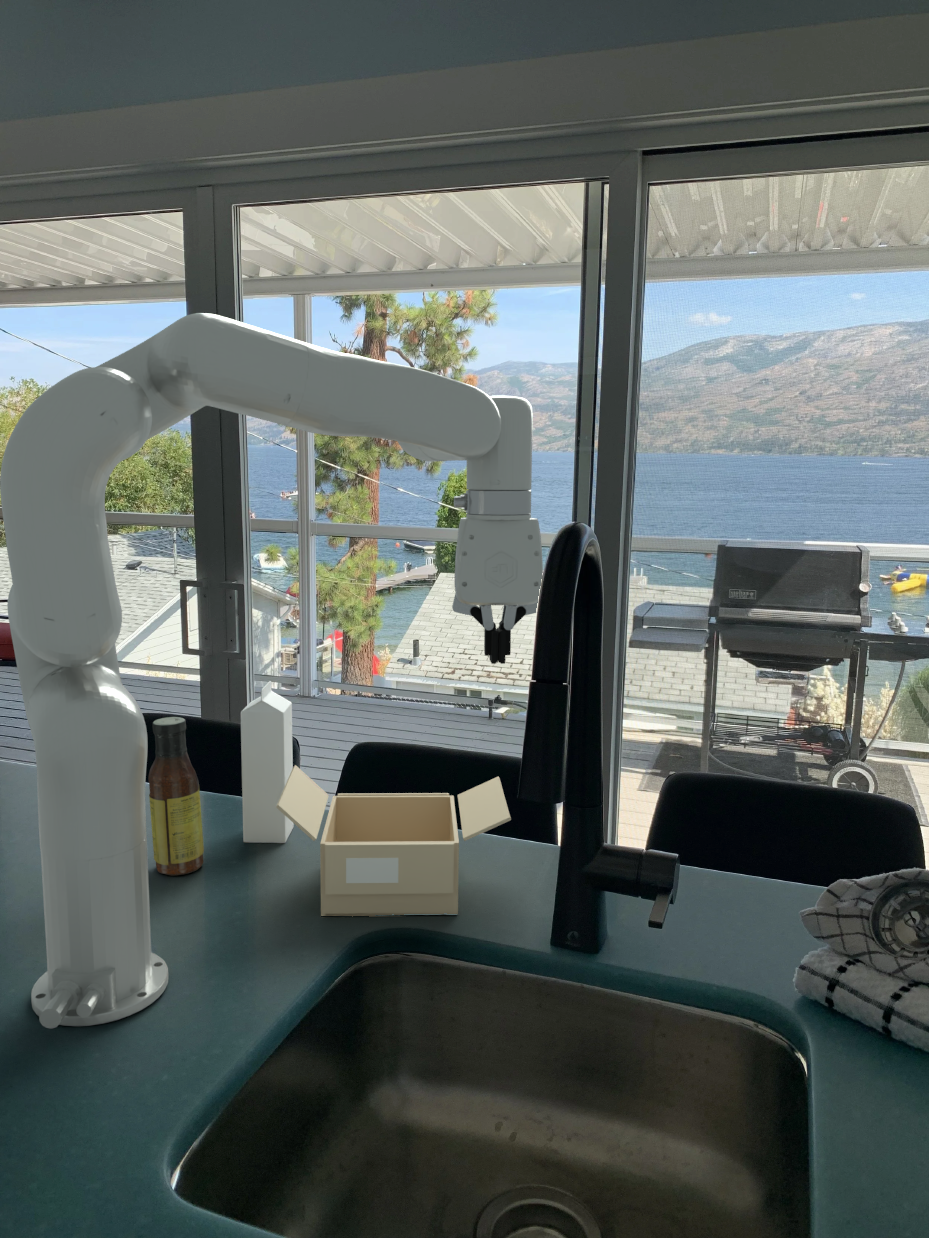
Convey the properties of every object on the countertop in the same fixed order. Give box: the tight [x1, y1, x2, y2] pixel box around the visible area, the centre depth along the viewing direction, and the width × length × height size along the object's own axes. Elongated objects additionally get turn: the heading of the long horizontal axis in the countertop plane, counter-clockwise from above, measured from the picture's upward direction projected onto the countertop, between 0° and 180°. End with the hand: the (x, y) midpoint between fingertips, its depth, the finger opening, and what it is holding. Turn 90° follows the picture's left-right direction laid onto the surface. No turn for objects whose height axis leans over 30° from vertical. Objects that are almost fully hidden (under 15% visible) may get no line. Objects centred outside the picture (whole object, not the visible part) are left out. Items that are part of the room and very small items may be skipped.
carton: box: [319, 792, 460, 918], centre depth 113 cm, size 17×16×9 cm
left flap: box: [276, 764, 330, 842], centre depth 112 cm, size 15×6×1 cm
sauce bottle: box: [148, 716, 205, 877], centre depth 117 cm, size 7×6×20 cm
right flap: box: [457, 776, 512, 842], centre depth 113 cm, size 15×6×1 cm, turn 3°
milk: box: [240, 680, 295, 844], centre depth 128 cm, size 6×6×22 cm
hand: (497, 661), depth 108 cm, fingers closed
